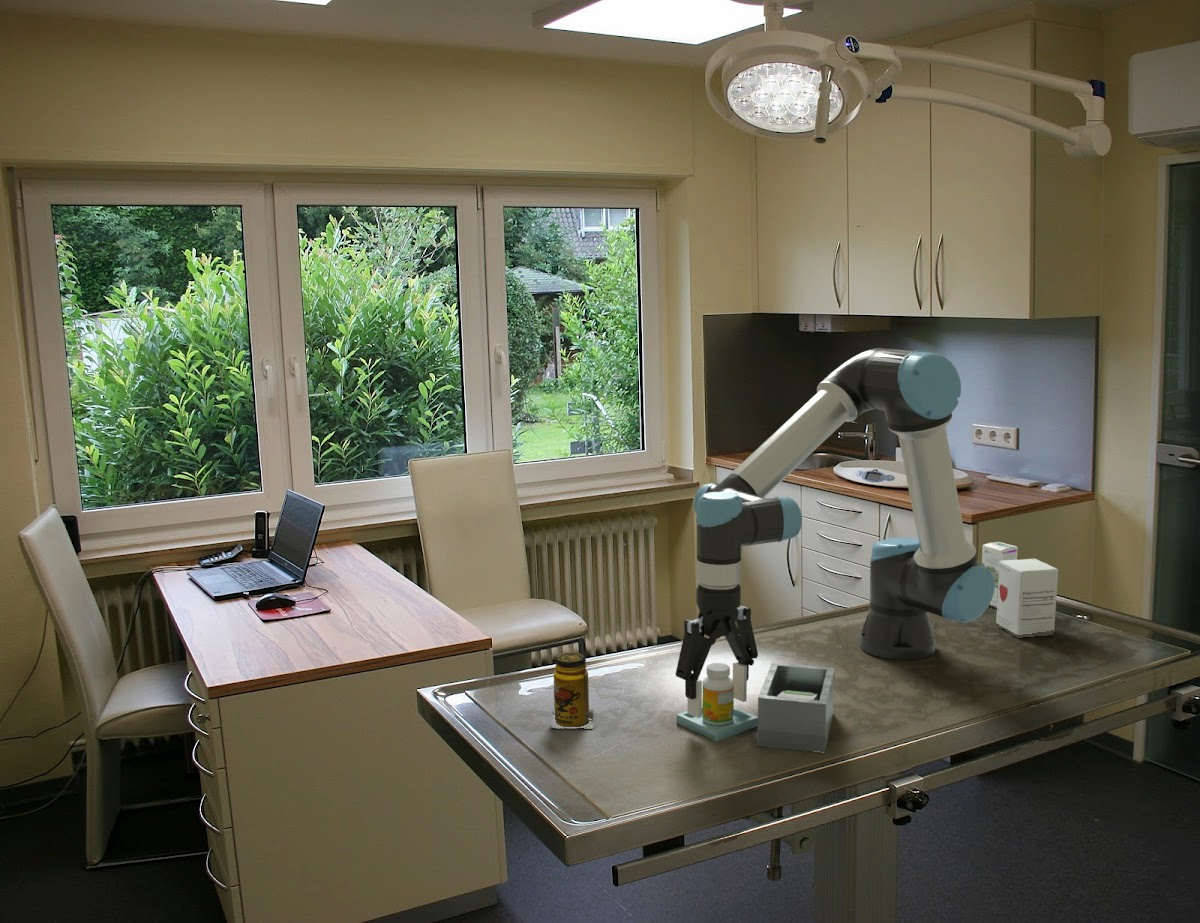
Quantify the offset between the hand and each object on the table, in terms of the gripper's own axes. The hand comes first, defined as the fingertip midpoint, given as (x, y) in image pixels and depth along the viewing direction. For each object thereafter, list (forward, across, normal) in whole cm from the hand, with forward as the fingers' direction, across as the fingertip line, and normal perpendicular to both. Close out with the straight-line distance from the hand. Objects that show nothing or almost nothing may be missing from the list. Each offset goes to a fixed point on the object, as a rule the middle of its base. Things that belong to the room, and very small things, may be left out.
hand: (717, 707), depth 192 cm
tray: (+3, 0, 0) cm, 3 cm away
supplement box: (+3, -86, +7) cm, 86 cm away
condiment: (+3, +18, -18) cm, 26 cm away
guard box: (+3, -9, +10) cm, 14 cm away
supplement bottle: (+3, 0, 0) cm, 3 cm away
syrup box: (+3, -98, -7) cm, 98 cm away
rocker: (-2, -9, +10) cm, 14 cm away
